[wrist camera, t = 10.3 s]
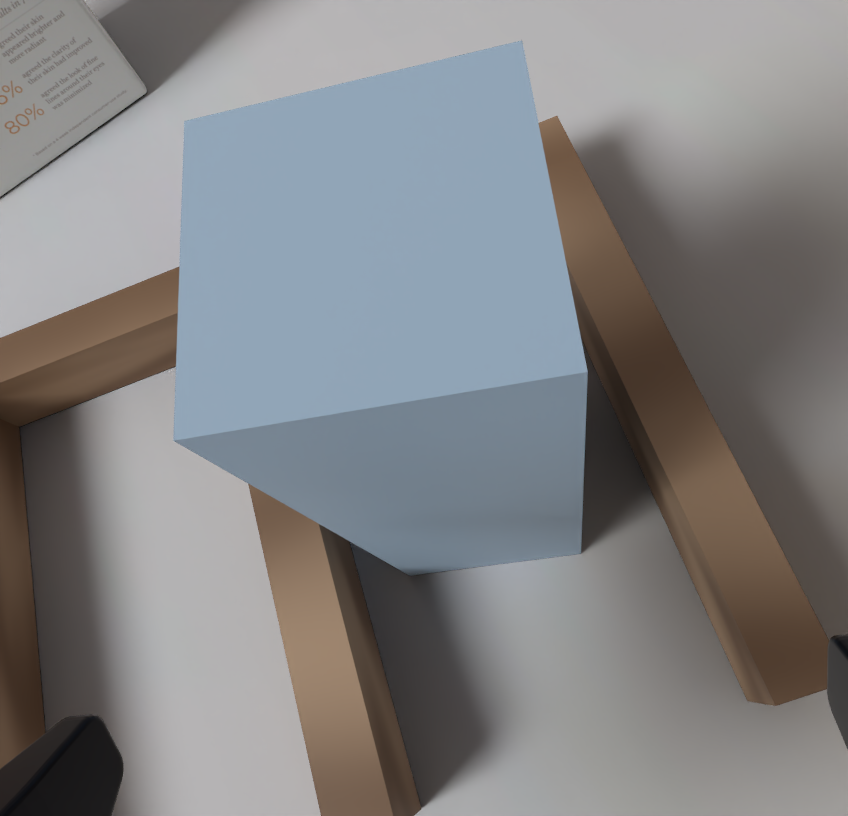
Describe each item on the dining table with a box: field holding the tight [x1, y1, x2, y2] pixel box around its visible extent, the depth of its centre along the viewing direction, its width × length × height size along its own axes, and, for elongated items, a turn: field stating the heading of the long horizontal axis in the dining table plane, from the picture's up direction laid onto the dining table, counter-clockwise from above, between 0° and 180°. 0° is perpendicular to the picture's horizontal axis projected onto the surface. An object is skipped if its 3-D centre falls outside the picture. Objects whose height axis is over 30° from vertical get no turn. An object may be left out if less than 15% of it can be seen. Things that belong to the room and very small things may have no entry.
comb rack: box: [0, 116, 829, 816], centre depth 19 cm, size 16×20×2 cm
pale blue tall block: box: [174, 41, 588, 576], centre depth 14 cm, size 4×4×12 cm
